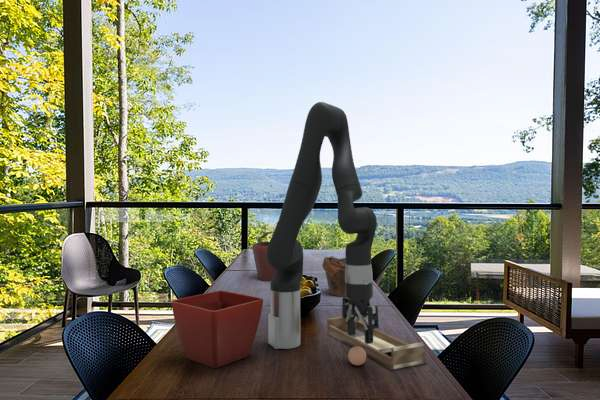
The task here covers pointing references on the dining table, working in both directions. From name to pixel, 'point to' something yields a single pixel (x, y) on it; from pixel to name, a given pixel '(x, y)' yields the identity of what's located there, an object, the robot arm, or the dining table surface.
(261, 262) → the bucket
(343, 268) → the terracotta flower pot
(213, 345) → the plant pot
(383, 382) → the dining table surface
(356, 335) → the track
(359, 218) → the robot arm
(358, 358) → the ball
